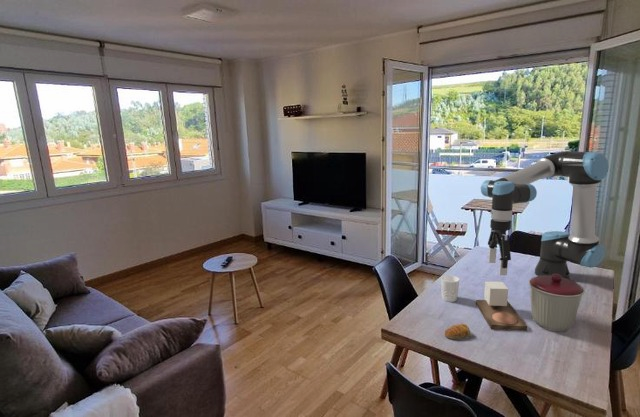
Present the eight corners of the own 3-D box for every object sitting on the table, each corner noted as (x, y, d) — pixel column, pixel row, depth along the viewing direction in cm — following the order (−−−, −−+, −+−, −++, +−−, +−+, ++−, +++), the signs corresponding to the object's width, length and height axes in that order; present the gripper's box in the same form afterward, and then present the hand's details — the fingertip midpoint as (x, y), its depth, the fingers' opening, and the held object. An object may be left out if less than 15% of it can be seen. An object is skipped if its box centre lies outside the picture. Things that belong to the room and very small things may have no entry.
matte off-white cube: (501, 298, 156) (502, 281, 155) (506, 306, 149) (508, 288, 148) (484, 297, 157) (485, 281, 156) (489, 305, 150) (490, 288, 149)
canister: (582, 342, 129) (589, 287, 124) (525, 330, 138) (529, 279, 133) (576, 318, 144) (582, 269, 140) (525, 309, 153) (529, 262, 149)
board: (507, 304, 157) (508, 283, 155) (526, 330, 137) (529, 306, 135) (475, 303, 159) (477, 283, 157) (491, 329, 139) (492, 305, 137)
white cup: (459, 296, 167) (460, 276, 165) (457, 303, 160) (458, 283, 158) (441, 293, 170) (442, 274, 168) (439, 301, 163) (440, 280, 161)
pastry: (452, 342, 132) (452, 333, 131) (440, 333, 138) (440, 324, 137) (472, 337, 135) (473, 328, 134) (460, 328, 141) (460, 319, 140)
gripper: (482, 212, 158) (479, 258, 163) (502, 227, 134) (497, 280, 138) (500, 212, 157) (496, 258, 161) (523, 227, 133) (518, 280, 137)
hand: (497, 268), depth 150 cm, fingers open, 13 cm apart
